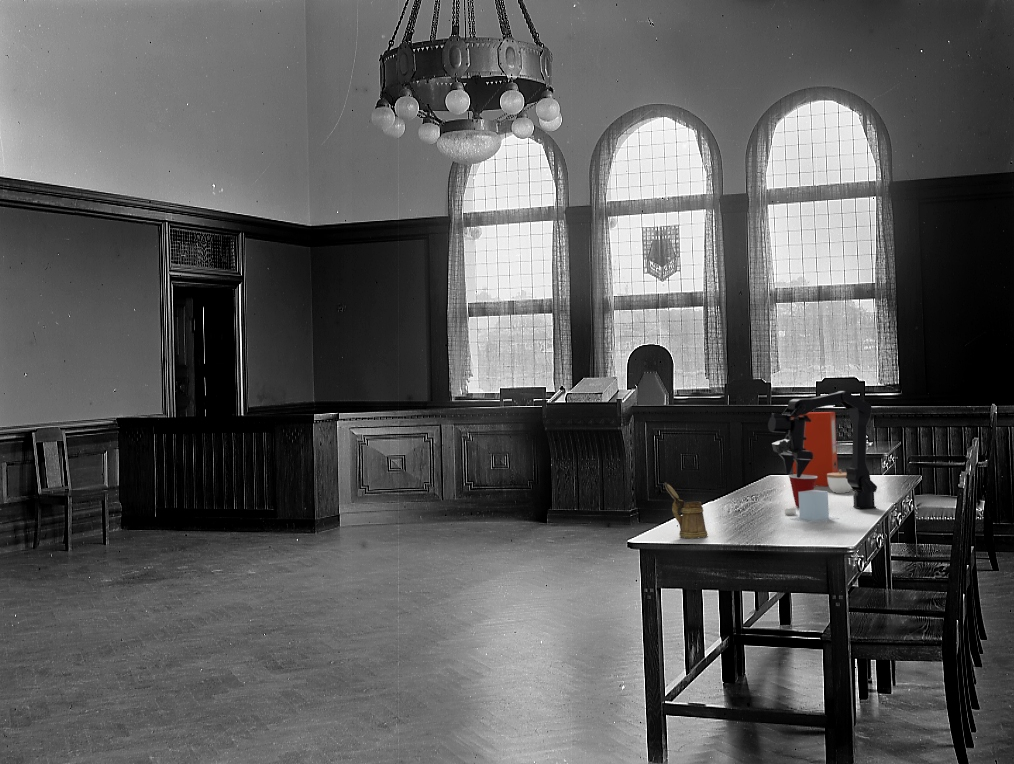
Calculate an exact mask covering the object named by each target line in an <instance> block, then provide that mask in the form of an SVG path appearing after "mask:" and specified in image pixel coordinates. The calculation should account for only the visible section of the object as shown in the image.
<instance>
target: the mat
mask: <svg viewBox="0 0 1014 764" xmlns="http://www.w3.org/2000/svg"><path fill="white" fill-rule="evenodd" d="M839 519H840V517H833V516H832V517H831V516H829V519H823V520H816V521H812V520H805V519H800V516H799V517H793V518H791V520H793V521H800V522H801V521H802V522H807V523H808V522H809V523H820V522H826V521H832V520H839Z"/></svg>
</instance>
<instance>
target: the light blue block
mask: <svg viewBox="0 0 1014 764" xmlns="http://www.w3.org/2000/svg"><path fill="white" fill-rule="evenodd" d="M828 492H829V491H826V490H817V489H814V490H809V491H802V492H798V493H799V507H798V508H799V509H798V511H799V512H798V513H799V517H800V519H805V520H812V521H816V520H823V519H829V517H830V515H829V514H830V511H829V493H828Z"/></svg>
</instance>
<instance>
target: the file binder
mask: <svg viewBox="0 0 1014 764" xmlns="http://www.w3.org/2000/svg"><path fill="white" fill-rule="evenodd" d="M805 415H807V416H808V417H809V418H810V419H811V422H806V423H805V435H804V437H806V440H804V447H803V448H806V449H805V450H807V451H811V452H812V453H813V454H814V455H813V459H810V460H811V461H810V462H809V464H808V465H807V467H806V468H805V470H804V472H803V473H802V475H812V476H817V479H816V481H815V485H814V487H829V485H828V480H827V474H828V473H835V472H839V469H838V452H837V450H838V448H837V430H836V429H837V428H836V427H837V426H836V424H837V423H836V412H835V411H824V412H823V411H821V412H819V411H818V412H816V411H815V412H814V411H813V412H812V411H811V412H809V413H807V414H805ZM802 416H803V415H799V416H798V417H802ZM793 418H794V417H790V419H793ZM792 470H793V471H792V475H794V474H796V462H795V461H794V463H793V466H792Z"/></svg>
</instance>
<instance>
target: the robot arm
mask: <svg viewBox="0 0 1014 764" xmlns="http://www.w3.org/2000/svg"><path fill="white" fill-rule="evenodd" d="M837 404H841V405H842V407H844V408H845V409H846V410H847V411H848V416H849V419H850V421H851V422H850V423H851V424H852V454H851V457H852V460H851V461H852V463H851V465H850V467H846V468H845V469H846V470H845V471H846V472H847V475H846V479H847V482H848V483H849V484H850V486H851V490H852V491H854V495H852V496H853V508H855V507H856V509H858V508H860V509H859V510H862V509H861V508H868V509H877V508H876V507H877V506H876V505H875V504H876V503H875V493H876V492H877V489H878V486H877V485H876V484H875V483H874V481H873V480H872V479H871V474H870V470H869V468H868V466H867V431H868V430H867V426H868V424H869V422H870V419H871V416H872V410H873V409H872V408H873V407H872V405H871V404H870V403H869V402H868V401H865V400H862V399H861V398H859V397H857V396H855V395H853V394H851V393H850V392H848V391H847V390H838V391H837V392H834V393H829V394H824V395H819V396H815V397H811V398H793V399H790V400H789V401H788V403H787V407H786V408H785V409H784V411H783V412H782V413H780V414H779V413H773V412H772V413H771V416H770V418H769V420H768V422H767V428H768V430H769V432H771V433H782V434H783V433H784V434H785V433H787V432H788V433H787V434H786V435H785V437H784V439H781V440H777V441H775V442H772V443H771V445H772V449H773V452H775V453H778V456H780V457H781V459H782V460H783V465H784V469H785V470H784V471H785V474H787V475H790V473H791V472H792V469H793V463H794V461H795V462H796V474H797V477H798V478H800V477H801V475H802V473H803V472H804V470H805V468H806V467H807V465H808V464H809V462H810V461H811V460H810V459H813V455H814V454H813V453H812V452H811V451H807V450H805V449H806V448H803V447H804V440H806V437H804V435H805V423H806V422H811V419H810V418H809V417H808V416H807V415H805V414H807V413H809V412H812V411H813V412H814V411H815V410H816V409H819V408H822V407H823V408H824V407H827V406H831V405H832V406H833V405H837ZM799 415H803V416H802V417H798V416H799ZM791 417H794V418H793V419H791Z"/></svg>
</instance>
